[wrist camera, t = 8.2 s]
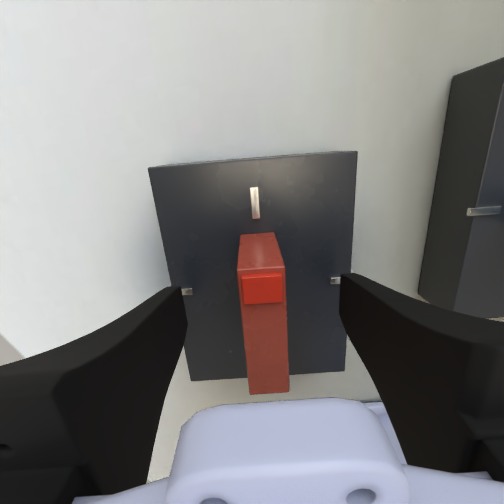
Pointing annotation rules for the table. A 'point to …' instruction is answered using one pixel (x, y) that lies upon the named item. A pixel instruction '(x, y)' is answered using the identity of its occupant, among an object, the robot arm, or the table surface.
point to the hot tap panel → (250, 222)
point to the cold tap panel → (469, 200)
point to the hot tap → (263, 312)
